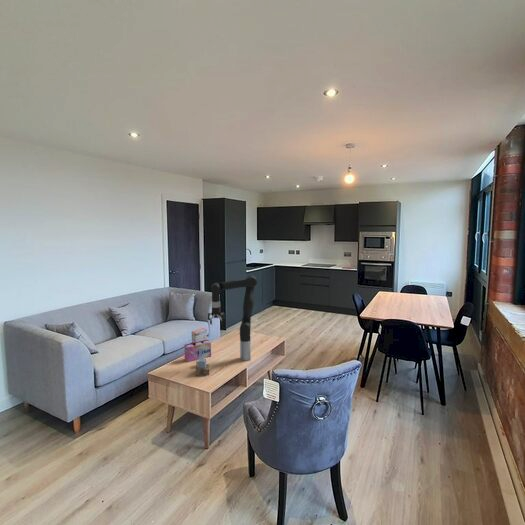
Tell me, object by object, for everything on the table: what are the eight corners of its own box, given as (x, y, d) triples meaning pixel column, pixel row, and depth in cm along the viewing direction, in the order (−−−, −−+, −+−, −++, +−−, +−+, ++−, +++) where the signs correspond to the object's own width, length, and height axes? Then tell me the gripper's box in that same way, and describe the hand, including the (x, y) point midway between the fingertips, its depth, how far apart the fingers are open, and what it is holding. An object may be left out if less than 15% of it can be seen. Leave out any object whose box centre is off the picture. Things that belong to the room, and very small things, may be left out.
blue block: (206, 366, 260) (206, 359, 259) (204, 368, 255) (204, 361, 254) (200, 365, 260) (200, 358, 259) (198, 368, 255) (198, 361, 254)
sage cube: (202, 364, 273) (202, 359, 273) (202, 367, 268) (202, 361, 268) (196, 365, 272) (196, 359, 271) (196, 367, 267) (196, 362, 266)
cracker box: (203, 348, 309) (202, 327, 307) (207, 350, 305) (207, 328, 303) (191, 353, 298) (191, 331, 296) (196, 354, 295) (195, 332, 292)
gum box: (209, 353, 298) (208, 339, 296) (212, 356, 291) (212, 341, 290) (184, 359, 284) (184, 344, 283) (187, 362, 278) (187, 347, 276)
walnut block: (208, 369, 264) (208, 364, 263) (209, 375, 254) (209, 369, 254) (196, 371, 262) (196, 365, 261) (196, 376, 252) (196, 370, 251)
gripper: (224, 305, 279) (224, 323, 281) (208, 305, 279) (208, 323, 281) (223, 307, 272) (223, 325, 274) (207, 307, 272) (207, 325, 274)
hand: (216, 324), depth 277 cm, fingers open, 8 cm apart
